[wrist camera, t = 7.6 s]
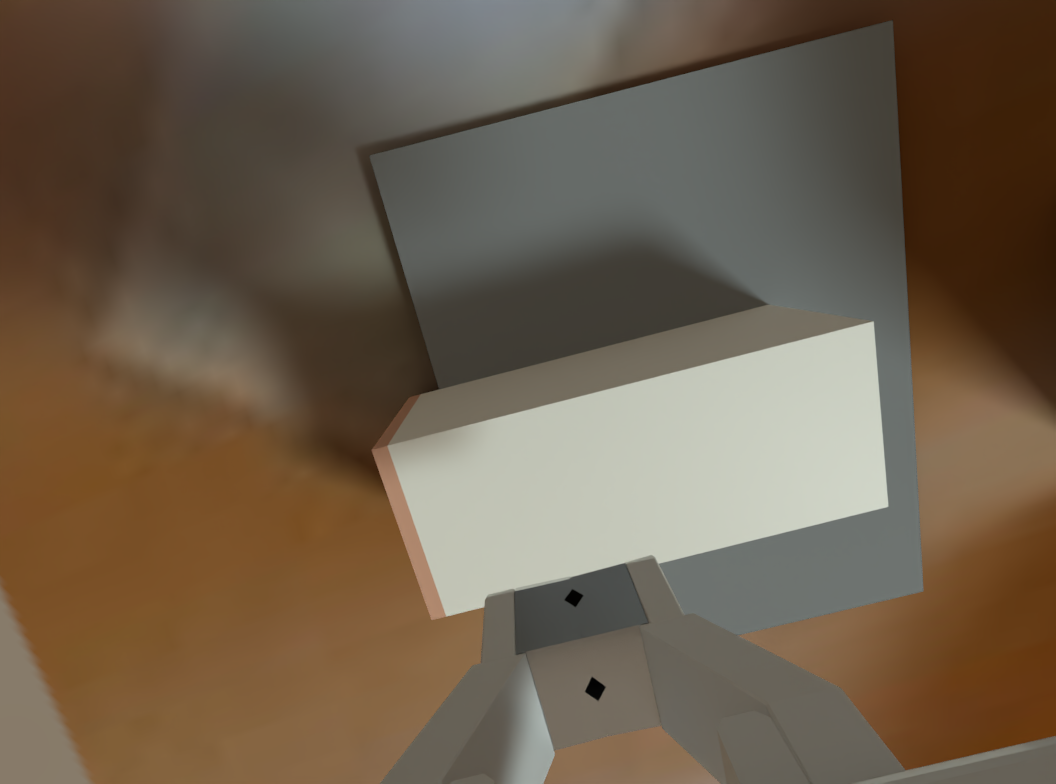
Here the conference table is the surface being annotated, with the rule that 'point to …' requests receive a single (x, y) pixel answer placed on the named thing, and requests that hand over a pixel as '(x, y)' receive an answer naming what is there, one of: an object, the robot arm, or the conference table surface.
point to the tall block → (636, 452)
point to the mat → (687, 266)
